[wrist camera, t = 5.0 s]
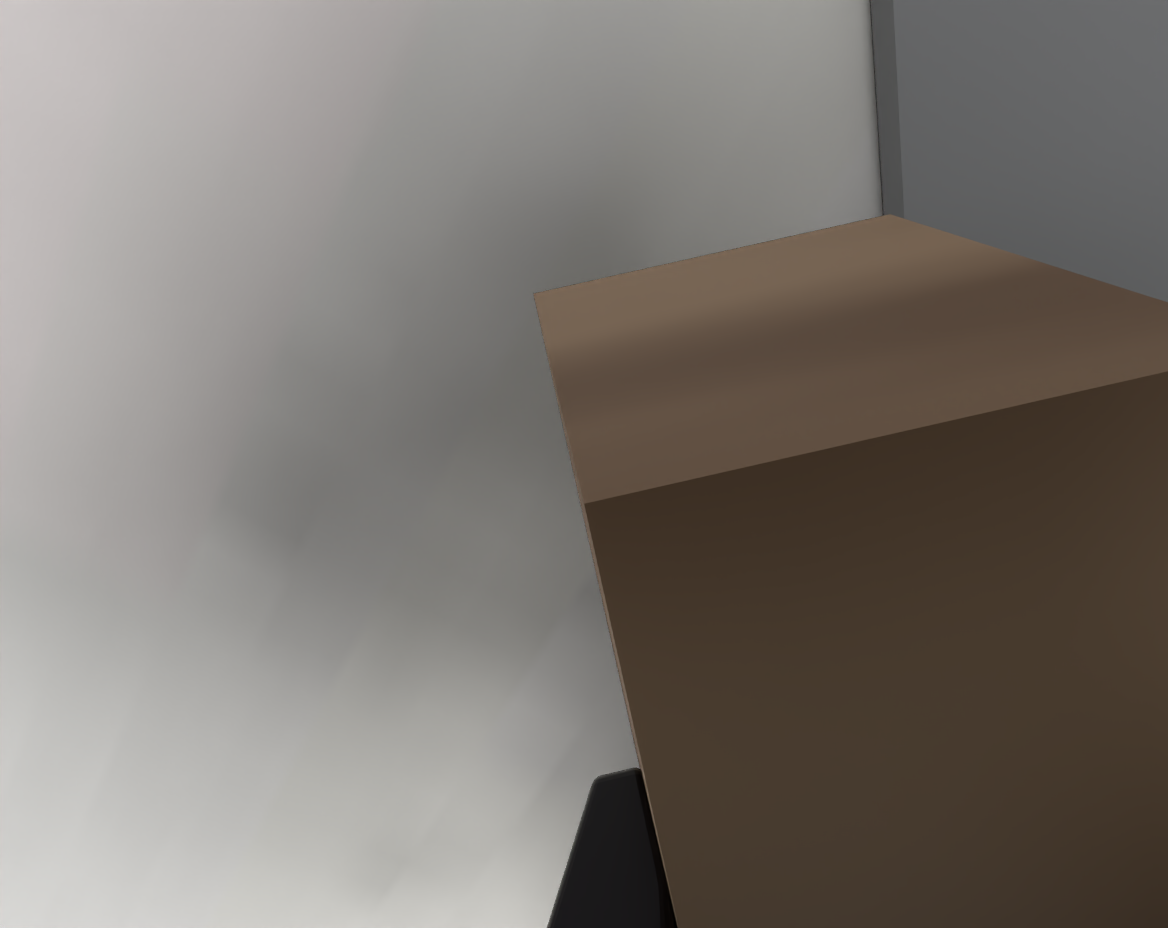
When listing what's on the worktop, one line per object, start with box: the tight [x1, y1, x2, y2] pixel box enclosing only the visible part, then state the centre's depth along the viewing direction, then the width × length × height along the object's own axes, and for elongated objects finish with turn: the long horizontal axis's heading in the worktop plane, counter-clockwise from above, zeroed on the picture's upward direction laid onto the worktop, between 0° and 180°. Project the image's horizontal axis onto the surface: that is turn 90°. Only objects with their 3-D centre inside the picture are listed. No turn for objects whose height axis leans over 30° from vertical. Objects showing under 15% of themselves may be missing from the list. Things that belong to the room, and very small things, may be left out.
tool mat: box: [871, 0, 1168, 302], centre depth 16 cm, size 9×23×1 cm, turn 12°
